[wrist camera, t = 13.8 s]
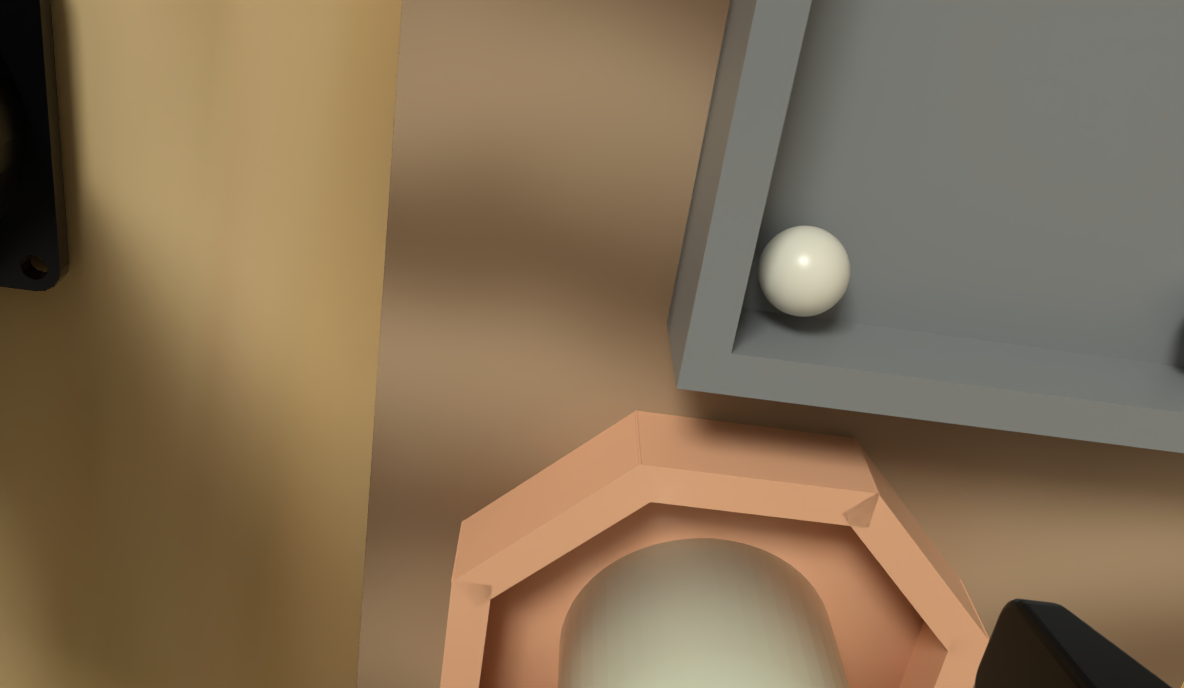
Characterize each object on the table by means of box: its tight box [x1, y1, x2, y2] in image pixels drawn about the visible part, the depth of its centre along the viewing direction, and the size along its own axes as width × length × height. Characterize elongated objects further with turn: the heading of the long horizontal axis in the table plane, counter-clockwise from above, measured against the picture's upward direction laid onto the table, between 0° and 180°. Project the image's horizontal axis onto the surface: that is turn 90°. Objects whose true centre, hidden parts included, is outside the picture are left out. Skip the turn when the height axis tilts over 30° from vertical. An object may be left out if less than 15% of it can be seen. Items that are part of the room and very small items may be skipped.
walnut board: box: [356, 0, 1184, 688], centre depth 22 cm, size 29×19×1 cm, turn 172°
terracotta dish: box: [440, 410, 989, 688], centre depth 24 cm, size 11×11×2 cm
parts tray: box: [667, 0, 1184, 453], centre depth 18 cm, size 12×12×3 cm
